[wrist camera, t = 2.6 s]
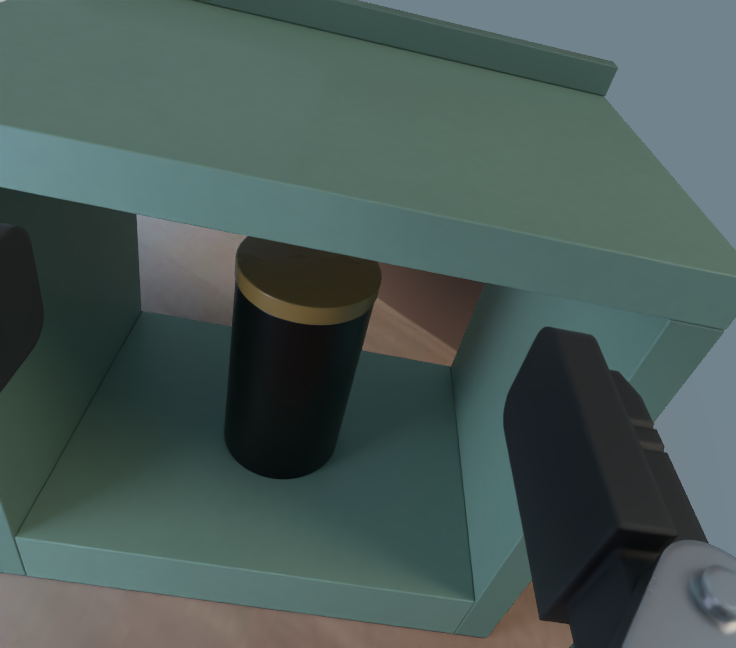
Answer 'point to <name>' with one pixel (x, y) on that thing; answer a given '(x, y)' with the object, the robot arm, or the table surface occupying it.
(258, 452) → the black tea tin
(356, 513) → the shelf
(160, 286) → the table surface
